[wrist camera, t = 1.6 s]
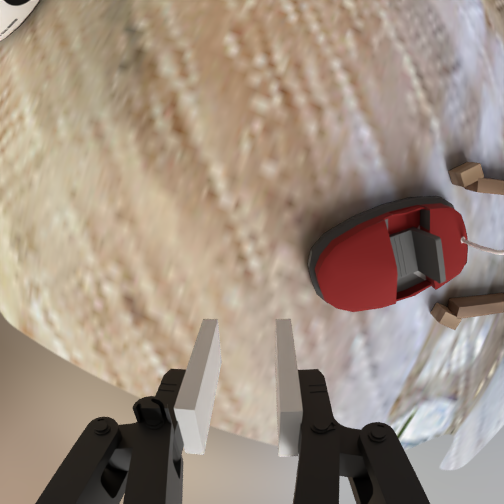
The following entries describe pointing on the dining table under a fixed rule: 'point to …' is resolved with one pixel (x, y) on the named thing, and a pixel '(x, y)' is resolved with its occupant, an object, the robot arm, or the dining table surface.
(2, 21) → the milk container
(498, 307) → the cradle
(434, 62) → the dining table surface
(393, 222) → the bumper car
